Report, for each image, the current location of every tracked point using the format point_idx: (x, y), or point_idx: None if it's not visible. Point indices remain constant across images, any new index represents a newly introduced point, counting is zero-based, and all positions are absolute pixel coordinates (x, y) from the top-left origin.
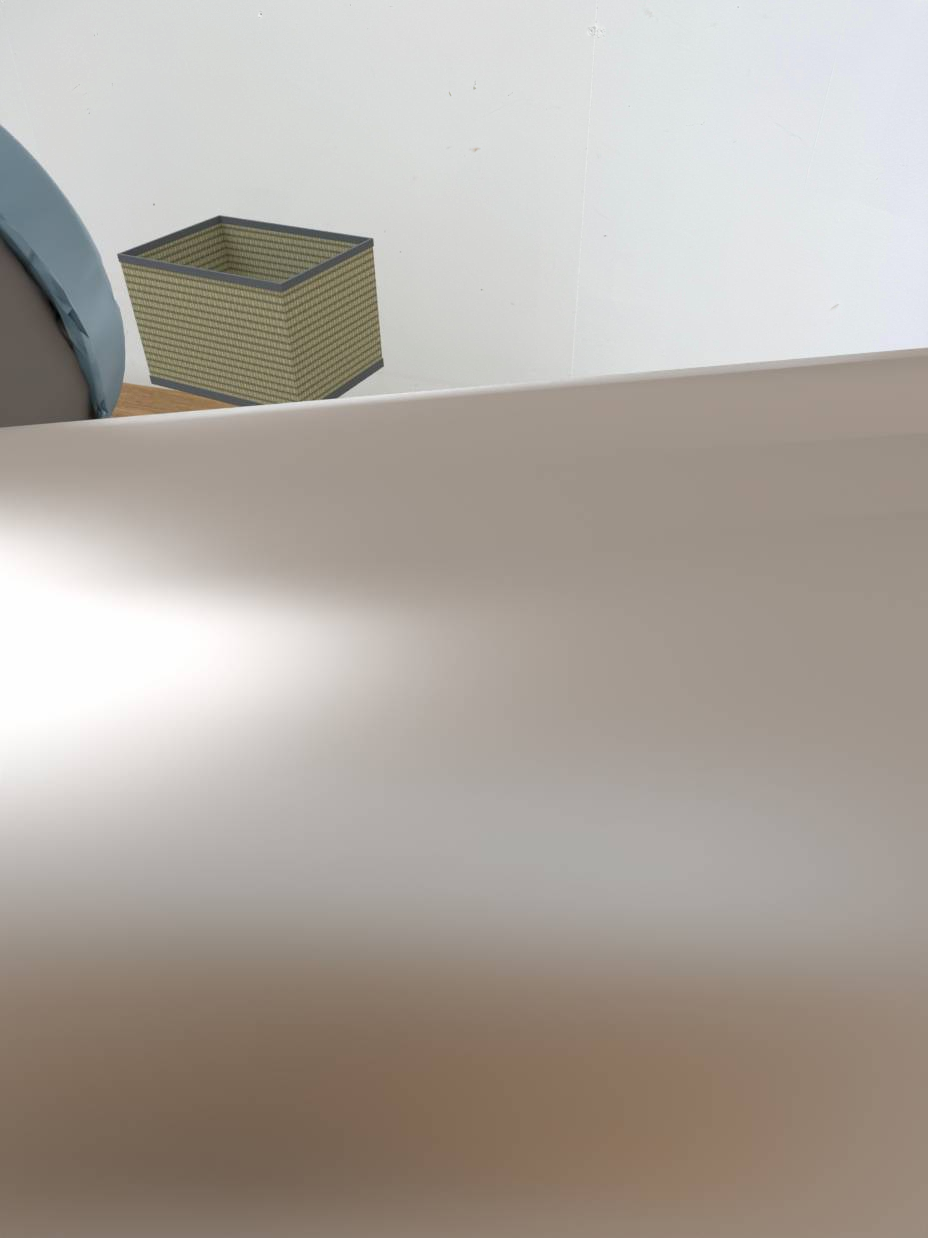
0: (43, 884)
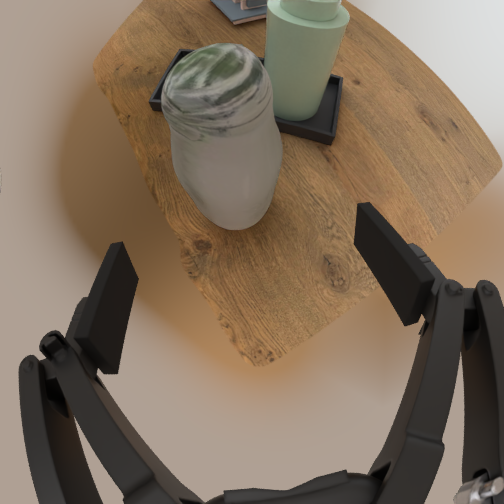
0: None
